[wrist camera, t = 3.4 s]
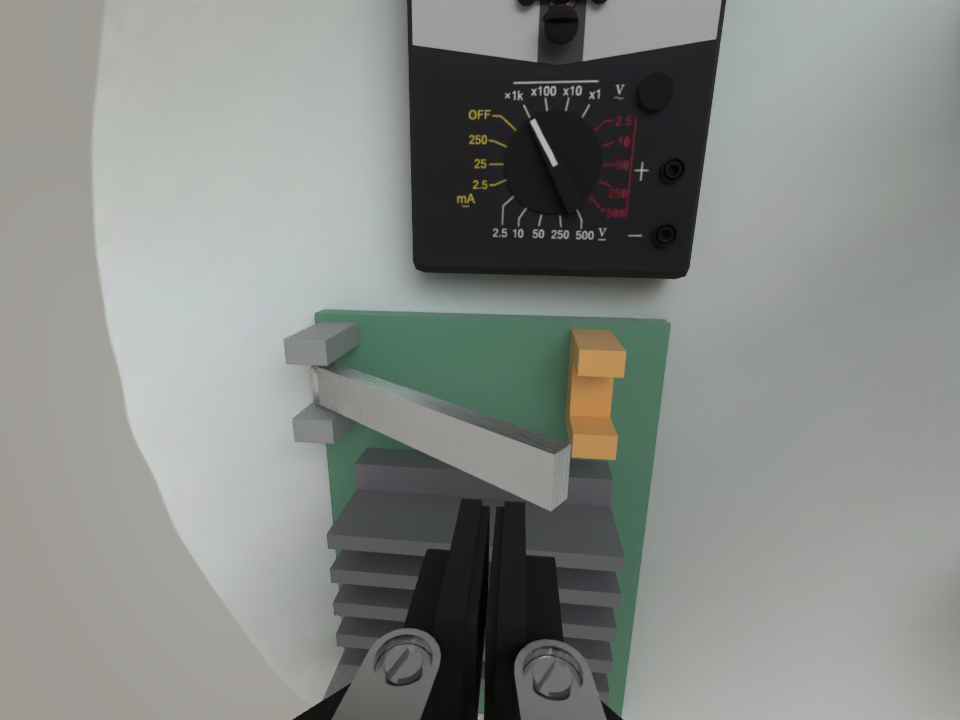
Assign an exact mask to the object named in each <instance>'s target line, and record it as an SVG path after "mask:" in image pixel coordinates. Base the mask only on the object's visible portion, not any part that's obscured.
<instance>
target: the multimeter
mask: <svg viewBox="0 0 960 720" xmlns="http://www.w3.org/2000/svg"><path fill="white" fill-rule="evenodd" d="M725 4H726V0H407V10H408V54H409V98H410V142H411V187H412V231H413V262H414V265H415V268H416V269H417V270H420V271H422V272H434V273H472V274H510V275H548V276H586V277H624V278H662V279H677V278H681V277H684V276H686V274H687V272H688V269H689V267H690V259H691V252H692V245H693V237H694V230H695V223H696V216H697V208H698V201H699V194H700V186H701V179H702V172H703V165H704V157H705V150H706V143H707V135H708V128H709V121H710V114H711V106H712V99H713V92H714V84H715V77H716V70H717V63H718V55H719V48H720V41H721V33H722V26H723V19H724V11H725Z"/></svg>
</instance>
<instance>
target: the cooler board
mask: <svg viewBox="0 0 960 720" xmlns="http://www.w3.org/2000/svg"><path fill="white" fill-rule="evenodd" d="M315 323H316V325H313V326H311V327H309V328H307V329H305V330H303V331H300V332H298V333H296V334H294V335H292V336H289V337H287V338H285V339H284V347H285V356H286V364H300V365H324V366H327V365H329V364H330V363H332V362H333V361H334V362H335V363H337V364H340V365H343V366H346V367H349V368H352V369H355V370H358V371H360V372H363V373H366V374H369V375H372V376H375V377H378V378H381V379H384V380H387V381H390V382H392V383H395V384H398V385H401V386H404V387H407V388H410V389H413V390H416V391H419V392H421V393H424V394H427V395H430V396H433V397H436V398H439V399H442V400H445V401H448V402H451V403H453V404H456V405H459V406H462V407H465V408H468V409H471V410H474V411H477V412H480V413H483V414H485V415H488V416H491V417H494V418H497V419H500V420H503V421H506V422H509V423H512V424H514V425H517V426H520V427H523V428H526V429H529V430H532V431H535V432H538V433H541V434H544V435H546V436H549V437H552V438H555V439H558V440H561V441H564V442H567V443H570V444H571V452H570V466H569V480H568V494H567V499H566V500H565V501H563V502H562V503H561V504H560V505H558V506H557V507H556V508H555V509H553V510H552V511H549V510H547V509H545V508H542V507H540V506H538V505H536V504H534V503H532V502H529V501H527V500H525V499H523V498H521V497H519V496H516V495H514V494H512V493H510V492H508V491H506V490H503V489H501V488H499V487H497V486H495V485H493V484H490V483H488V482H486V481H484V480H482V479H480V478H477V477H475V476H473V475H471V474H469V473H467V472H464V471H462V470H460V469H458V468H456V467H454V466H451V465H449V464H447V463H445V462H443V461H441V460H438V459H436V458H434V457H432V456H430V455H428V454H425V453H423V452H421V451H419V450H417V449H415V448H412V447H410V446H408V445H406V444H404V443H402V442H399V441H397V440H395V439H393V438H391V437H389V436H386V435H384V434H382V433H380V432H378V431H376V430H373V429H371V428H369V427H367V426H365V425H363V424H360V423H358V422H356V421H354V420H352V419H350V418H347V417H345V416H343V415H341V414H339V413H337V412H335V411H332V410H330V409H328V408H326V407H319V406H315V405H313V403H312V404H310V405H309V406H308V407H307V408H305V409H304V410H303V411H302V412H300V413H299V414H298V415H297V416H296V417H294V418H293V419H292V420H293V429H294V438H295V442H312V443H326V447H327V458H328V469H329V480H330V492H331V503H332V514H333V526H332V527H331V529H330V530H329V532H328V533H327V542H328V548H329V549H336V560H335V562H334V563H333V565H332V567H331V568H330V573H331V583H339V592H338V594H337V596H336V598H335V600H334V602H333V605H334V615H339V616H342V623H341V625H340V627H339V629H338V631H337V633H336V637H337V646H341V647H344V649H345V651H344V653H343V655H342V658H341V660H340V662H339V664H338V667H337V669H336V671H335V674H334V676H333V678H332V680H331V683H330V685H329V687H328V690H327V692H326V694H325V696H324V699H326V698H328V697H329V696H331V695H332V694H334V693H336V692H337V691H339V690H340V689H342V688H343V687H345V686H347V685H348V684H350V683H351V682H352V681H353V679H354V677H355V675H356V674H357V672H358V670H359V668H360V666H361V664H362V662H363V661H364V659H365V657H366V655H367V653H368V651H369V650H370V649H371V647H372V646H373V645H374V643H375V642H376V641H377V640H379V639H380V638H381V637H382V636H384V635H385V634H387V633H390V632H392V631H394V630H398V629H403V627H404V623H405V620H406V617H407V613H408V610H409V607H410V603H411V600H412V597H413V593H414V590H415V587H416V583H417V580H418V577H419V573H420V570H421V567H422V563H423V560H424V557H425V553H426V551H427V549H444V550H450V547H451V543H452V539H453V534H454V530H455V525H456V521H457V516H458V512H459V507H460V503H461V499H480V500H482V505H486V506H490V538H489V581H490V570H491V559H492V548H493V537H494V526H495V515H496V506H503V507H504V504H505V501H515V502H525V521H526V555H534V556H549V557H555V562H556V571H557V581H558V591H559V600H560V610H561V620H562V629H563V639H564V643H566V644H568V645H570V646H571V647H573V648H574V649H576V650H577V651H578V652H579V653H580V654H581V655H582V656H583V657H584V658H585V660H586V662H587V664H588V666H589V668H590V670H591V673H592V676H593V679H594V682H595V685H596V688H597V691H598V695H599V698H600V700H602V701H603V702H604V703H605V704H606V705H607V706H608V707H609V708H610V709H612V710H613V711H614V712H615V713H616V714H617V715H618V716H619V717H621V715H622V707H623V699H624V691H625V683H626V675H627V667H628V659H629V651H630V643H631V635H632V627H633V619H634V611H635V603H636V595H637V587H638V579H639V571H640V563H641V555H642V547H643V539H644V531H645V523H646V515H647V507H648V499H649V491H650V483H651V475H652V467H653V459H654V451H655V443H656V435H657V427H658V419H659V411H660V403H661V395H662V387H663V379H664V371H665V363H666V355H667V347H668V339H669V331H670V323H668V322H667V321H665V320H664V319H630V318H596V317H562V316H527V315H493V314H458V313H424V312H390V311H355V310H322V311H319V312H317V313H315ZM488 592H489V590H488ZM485 635H486V630H485ZM484 690H485V641H484V652H483V663H482V674H481V686H480V697H479V708H478V713H481V714H484ZM324 699H323V700H324Z"/></svg>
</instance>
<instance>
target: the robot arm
mask: <svg viewBox="0 0 960 720" xmlns="http://www.w3.org/2000/svg"><path fill="white" fill-rule="evenodd" d="M489 538H490V506H486V505H482V500H480V499H461V503H460V507H459V512H458V516H457V521H456V525H455V530H454V534H453V539H452V543H451V547H450V550H444V549H427V551H426V553H425V557H424V560H423V563H422V567H421V570H420V573H419V577H418V580H417V583H416V587H415V590H414V593H413V597H412V600H411V603H410V607H409V610H408V613H407V617H406V620H405V623H404V627H403V629H398V630H394V631H392V632H390V633H387V634H385V635H384V636H382V637H381V638H380V639H379V640H377V641H376V642H375V643H374V645H373V646H372V647H371V649H370V650H369V651H368V653H367V655H366V657H365V659H364V661H363V662H362V664H361V666H360V668H359V670H358V672H357V674H356V675H355V677H354V679H353V681H352V682H351V683H350V684H348V685H347V686H345V687H343V688H342V689H340V690H339V691H337V692H336V693H334V694H332V695H331V696H329V697H328V698H326V699H324V700H323V701H321V702H320V703H318V704H317V705H315V706H313V707H312V708H310V709H309V710H307V711H306V712H304V713H302V714H301V715H299V716H298V717H296V718H295V719H293V720H477V719H478V708H479V697H480V686H481V674H482V663H483V652H484V641H485V690H484V720H623V719H622V718H621V717H619V716H618V715H617V714H616V713H615V712H614V711H613V710H612V709H610V708H609V707H608V706H607V705H606V704H605V703H604V702H603V701H602V700H600V698H599V695H598V691H597V688H596V685H595V682H594V679H593V676H592V673H591V670H590V668H589V666H588V664H587V662H586V660H585V658H584V657H583V656H582V655H581V654H580V653H579V652H578V651H577V650H576V649H574V648H573V647H571V646H570V645H568V644H566V643H564V639H563V629H562V620H561V610H560V600H559V591H558V581H557V571H556V562H555V557H549V556H534V555H526V521H525V502H515V501H505V504H504V507H503V506H496V515H495V526H494V537H493V548H492V559H491V570H490V581H489ZM488 590H489V592H488ZM485 630H486V635H485Z"/></svg>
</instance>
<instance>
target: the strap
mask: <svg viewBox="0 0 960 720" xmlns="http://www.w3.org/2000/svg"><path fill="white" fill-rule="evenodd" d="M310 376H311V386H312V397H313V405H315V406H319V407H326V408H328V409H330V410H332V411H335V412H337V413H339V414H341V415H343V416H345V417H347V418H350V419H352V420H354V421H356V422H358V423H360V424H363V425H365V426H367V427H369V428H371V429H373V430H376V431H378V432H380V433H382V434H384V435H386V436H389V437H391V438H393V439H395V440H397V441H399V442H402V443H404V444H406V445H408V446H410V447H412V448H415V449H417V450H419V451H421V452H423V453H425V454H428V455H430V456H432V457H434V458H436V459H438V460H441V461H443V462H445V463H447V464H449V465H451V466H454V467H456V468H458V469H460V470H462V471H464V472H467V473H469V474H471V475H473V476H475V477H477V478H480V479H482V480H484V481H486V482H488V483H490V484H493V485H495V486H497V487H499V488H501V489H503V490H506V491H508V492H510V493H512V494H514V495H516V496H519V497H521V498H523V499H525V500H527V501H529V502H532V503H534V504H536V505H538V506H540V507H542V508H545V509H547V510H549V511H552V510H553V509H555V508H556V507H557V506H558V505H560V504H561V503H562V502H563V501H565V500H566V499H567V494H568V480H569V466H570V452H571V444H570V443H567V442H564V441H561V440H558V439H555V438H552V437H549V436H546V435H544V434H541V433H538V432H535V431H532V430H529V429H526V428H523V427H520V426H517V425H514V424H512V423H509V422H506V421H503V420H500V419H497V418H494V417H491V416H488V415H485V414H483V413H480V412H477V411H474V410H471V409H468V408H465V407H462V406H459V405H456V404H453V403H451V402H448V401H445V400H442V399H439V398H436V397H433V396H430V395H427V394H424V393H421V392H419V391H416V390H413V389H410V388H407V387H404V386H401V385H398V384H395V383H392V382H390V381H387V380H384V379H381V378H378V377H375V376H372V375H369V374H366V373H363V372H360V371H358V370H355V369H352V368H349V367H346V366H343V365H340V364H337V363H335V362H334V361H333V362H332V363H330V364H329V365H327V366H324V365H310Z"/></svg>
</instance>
